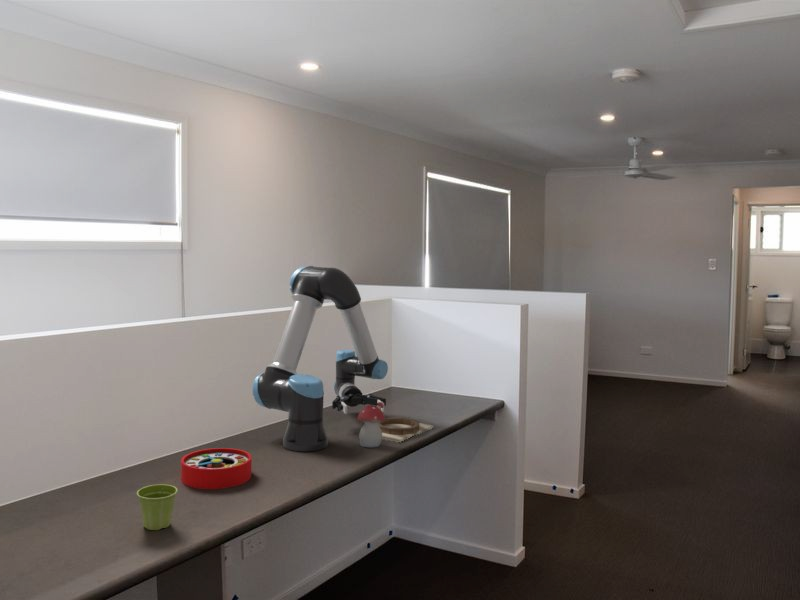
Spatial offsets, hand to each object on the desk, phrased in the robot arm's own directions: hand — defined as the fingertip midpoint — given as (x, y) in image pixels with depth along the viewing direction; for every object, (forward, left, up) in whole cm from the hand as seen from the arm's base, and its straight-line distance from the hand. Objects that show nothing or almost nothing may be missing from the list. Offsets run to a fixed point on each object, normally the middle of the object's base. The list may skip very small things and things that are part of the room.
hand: (364, 408), depth 250 cm
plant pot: (-63, -68, -10) cm, 93 cm away
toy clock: (-50, -35, -11) cm, 62 cm away
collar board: (+13, +6, -10) cm, 18 cm away
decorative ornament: (0, -10, -10) cm, 15 cm away
